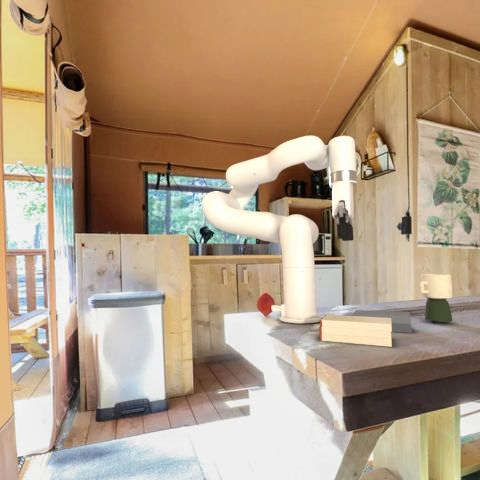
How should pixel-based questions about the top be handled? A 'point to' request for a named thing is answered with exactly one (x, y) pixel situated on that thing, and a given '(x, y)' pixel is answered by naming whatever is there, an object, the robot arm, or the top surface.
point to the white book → (357, 322)
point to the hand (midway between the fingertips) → (345, 239)
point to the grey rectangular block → (399, 319)
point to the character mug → (437, 296)
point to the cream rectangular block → (356, 336)
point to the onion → (265, 303)
